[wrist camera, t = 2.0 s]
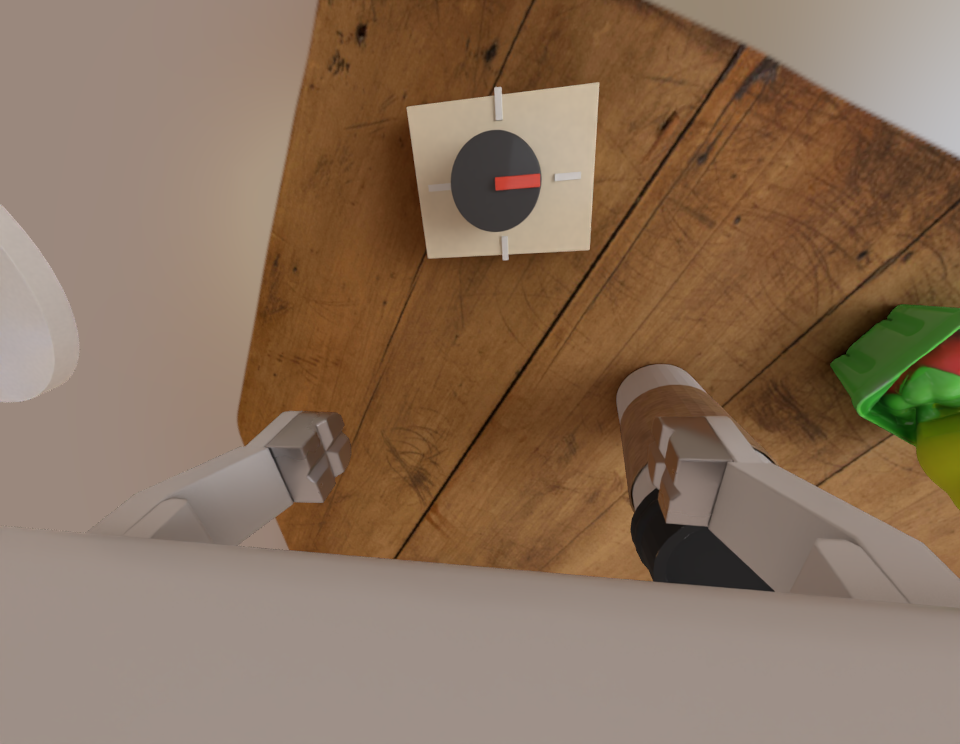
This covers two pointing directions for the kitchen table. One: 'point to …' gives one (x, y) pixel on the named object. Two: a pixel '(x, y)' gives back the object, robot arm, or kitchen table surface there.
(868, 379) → the fruit basket
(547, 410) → the kitchen table surface
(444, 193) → the panel
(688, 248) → the kitchen table surface
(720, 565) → the coffee cup
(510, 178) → the knob
